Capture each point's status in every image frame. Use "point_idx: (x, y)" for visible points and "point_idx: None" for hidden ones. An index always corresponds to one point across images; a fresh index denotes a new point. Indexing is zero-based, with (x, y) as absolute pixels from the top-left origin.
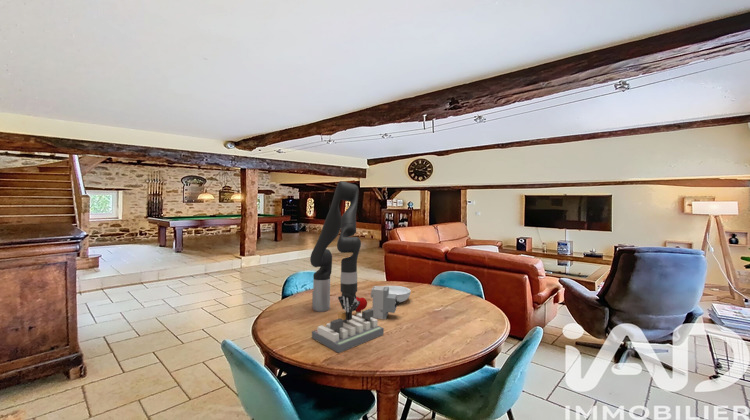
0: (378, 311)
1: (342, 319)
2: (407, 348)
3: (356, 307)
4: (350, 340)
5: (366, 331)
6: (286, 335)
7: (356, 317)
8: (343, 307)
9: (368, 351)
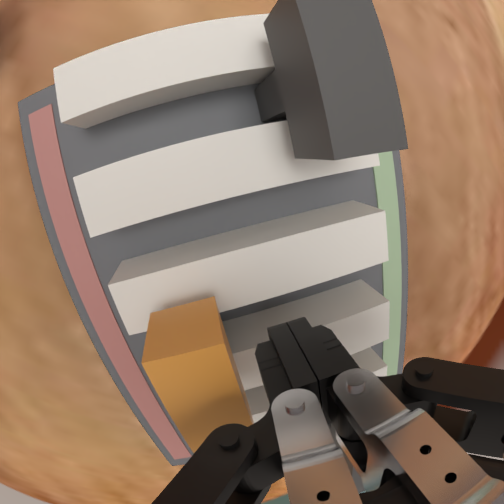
0: None
1: (243, 389)
2: (493, 86)
3: (494, 384)
4: (400, 334)
5: (364, 175)
6: (111, 483)
7: (158, 168)
8: (263, 487)
9: (449, 250)
